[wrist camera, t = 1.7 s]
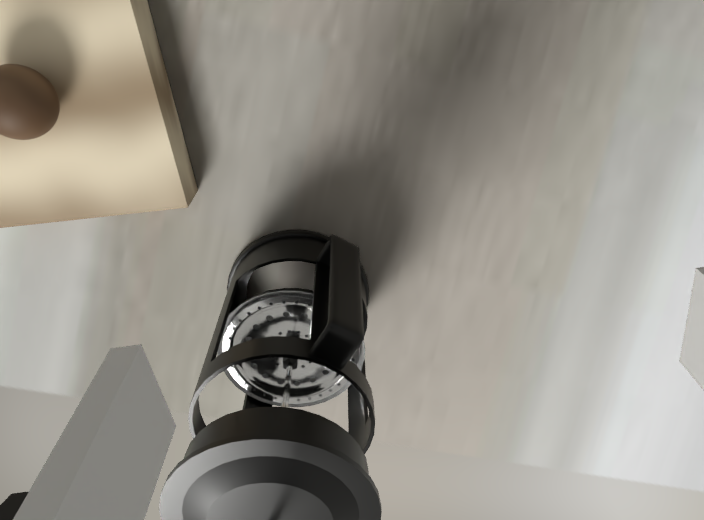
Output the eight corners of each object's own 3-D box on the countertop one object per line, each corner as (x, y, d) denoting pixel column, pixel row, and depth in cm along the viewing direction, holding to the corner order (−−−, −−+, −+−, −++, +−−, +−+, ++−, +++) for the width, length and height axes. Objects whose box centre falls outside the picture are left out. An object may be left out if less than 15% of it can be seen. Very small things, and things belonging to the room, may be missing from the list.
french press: (322, 372, 40) (303, 786, 20) (202, 320, 38) (48, 734, 18) (409, 249, 36) (497, 638, 16) (278, 181, 33) (182, 539, 13)
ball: (-13, 62, 27) (-58, 76, 24) (56, 53, 27) (20, 67, 24) (16, 131, 29) (-22, 153, 26) (81, 124, 29) (51, 145, 26)
